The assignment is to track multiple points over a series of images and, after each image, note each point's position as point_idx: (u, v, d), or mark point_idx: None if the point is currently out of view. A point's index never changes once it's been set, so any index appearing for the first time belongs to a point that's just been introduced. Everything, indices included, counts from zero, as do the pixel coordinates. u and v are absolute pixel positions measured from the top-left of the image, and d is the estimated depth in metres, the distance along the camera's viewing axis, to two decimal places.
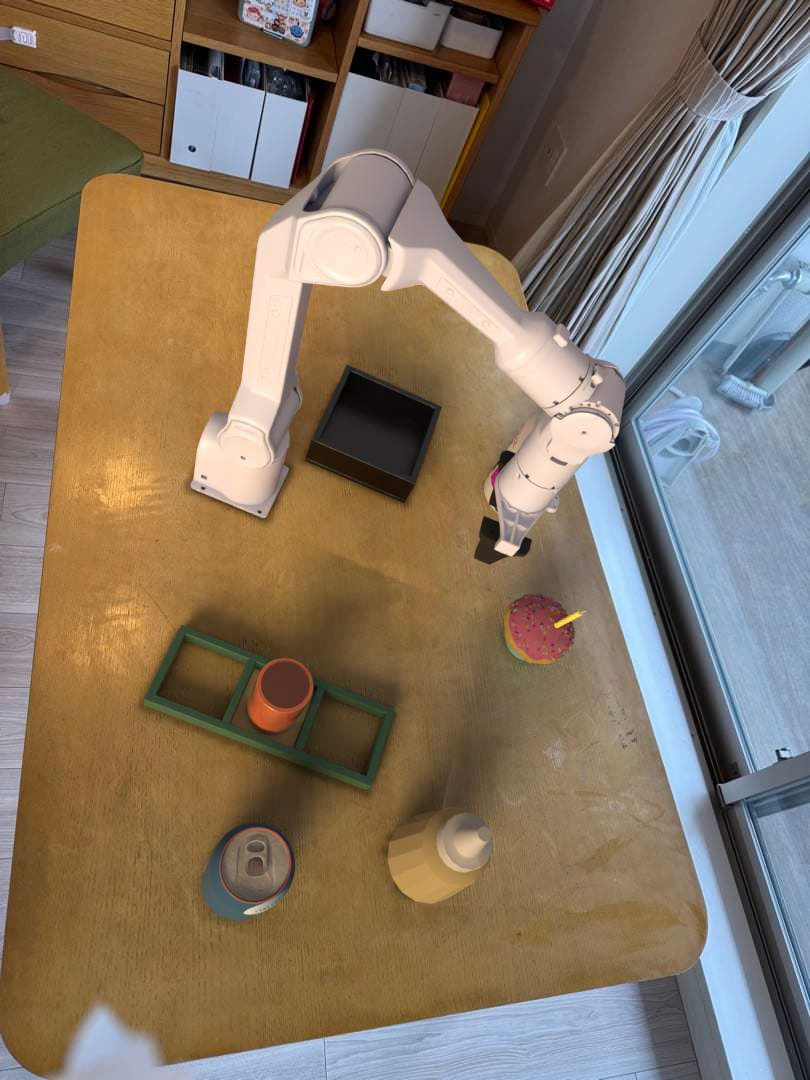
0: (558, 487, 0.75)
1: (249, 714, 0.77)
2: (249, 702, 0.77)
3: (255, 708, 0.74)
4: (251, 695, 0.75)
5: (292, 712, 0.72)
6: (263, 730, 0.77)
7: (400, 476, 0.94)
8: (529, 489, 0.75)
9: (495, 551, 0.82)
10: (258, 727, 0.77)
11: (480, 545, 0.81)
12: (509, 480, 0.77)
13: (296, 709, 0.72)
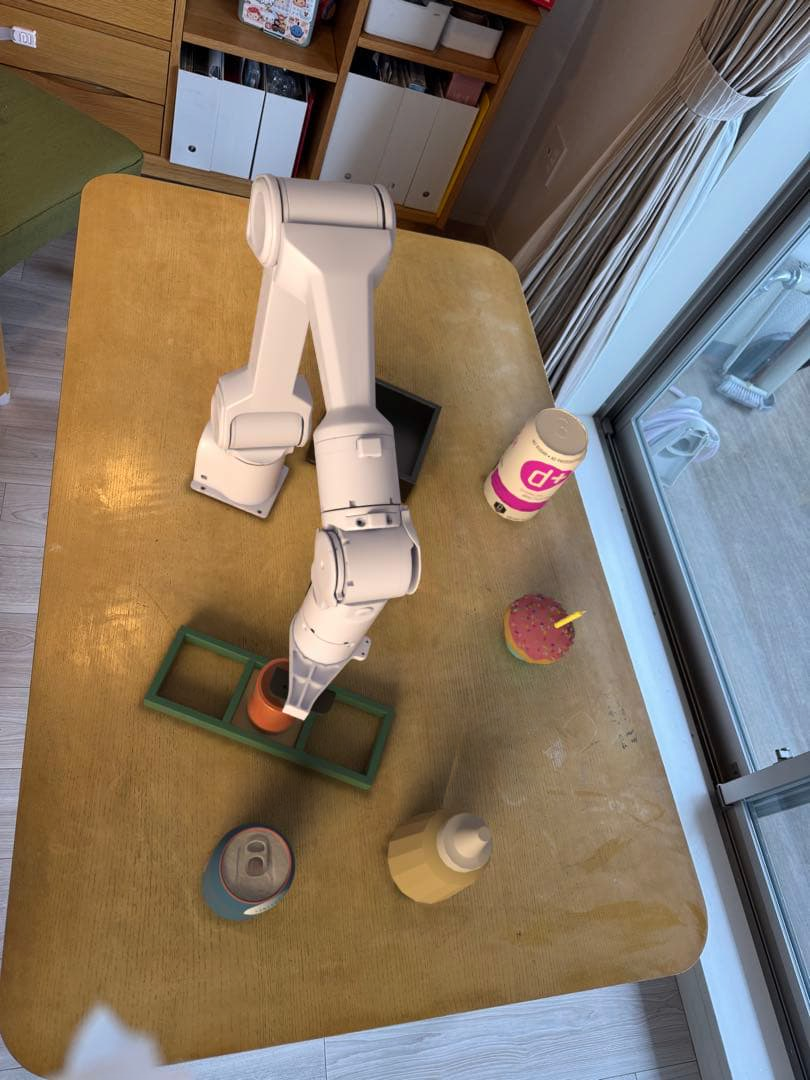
0: (352, 641, 0.61)
1: (249, 714, 0.77)
2: (249, 702, 0.77)
3: (255, 708, 0.74)
4: (251, 695, 0.75)
5: None
6: (263, 730, 0.77)
7: (400, 476, 0.94)
8: (318, 643, 0.62)
9: None
10: (258, 727, 0.77)
11: None
12: (298, 629, 0.63)
13: None
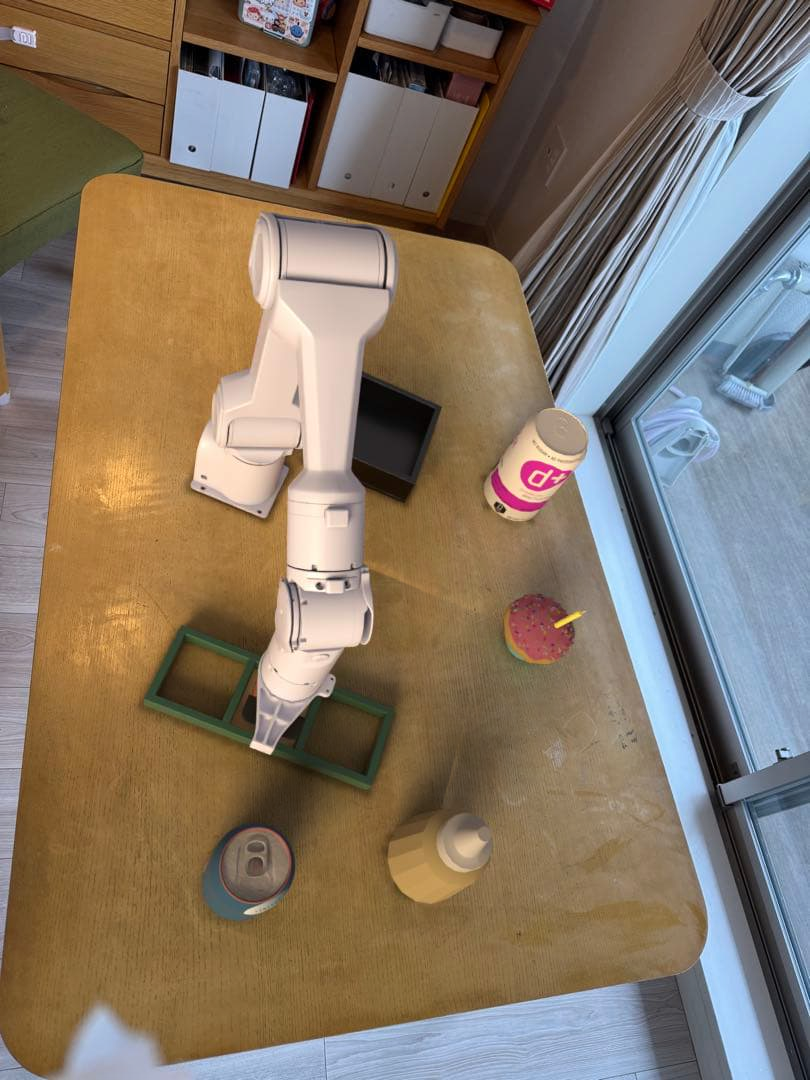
0: (315, 682, 0.65)
1: None
2: None
3: None
4: None
5: None
6: None
7: (400, 476, 0.94)
8: (283, 683, 0.65)
9: None
10: None
11: None
12: (265, 668, 0.67)
13: None
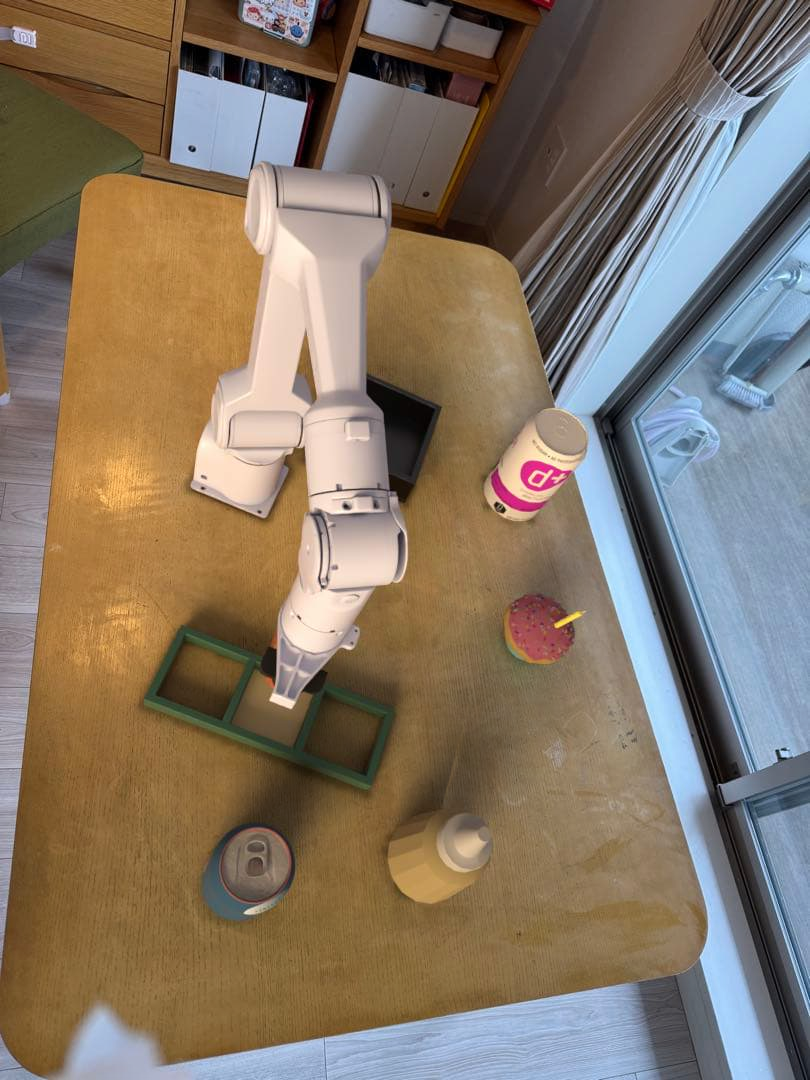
0: (340, 630, 0.60)
1: None
2: None
3: None
4: None
5: None
6: None
7: (400, 476, 0.94)
8: (305, 631, 0.61)
9: None
10: None
11: None
12: (286, 616, 0.62)
13: None
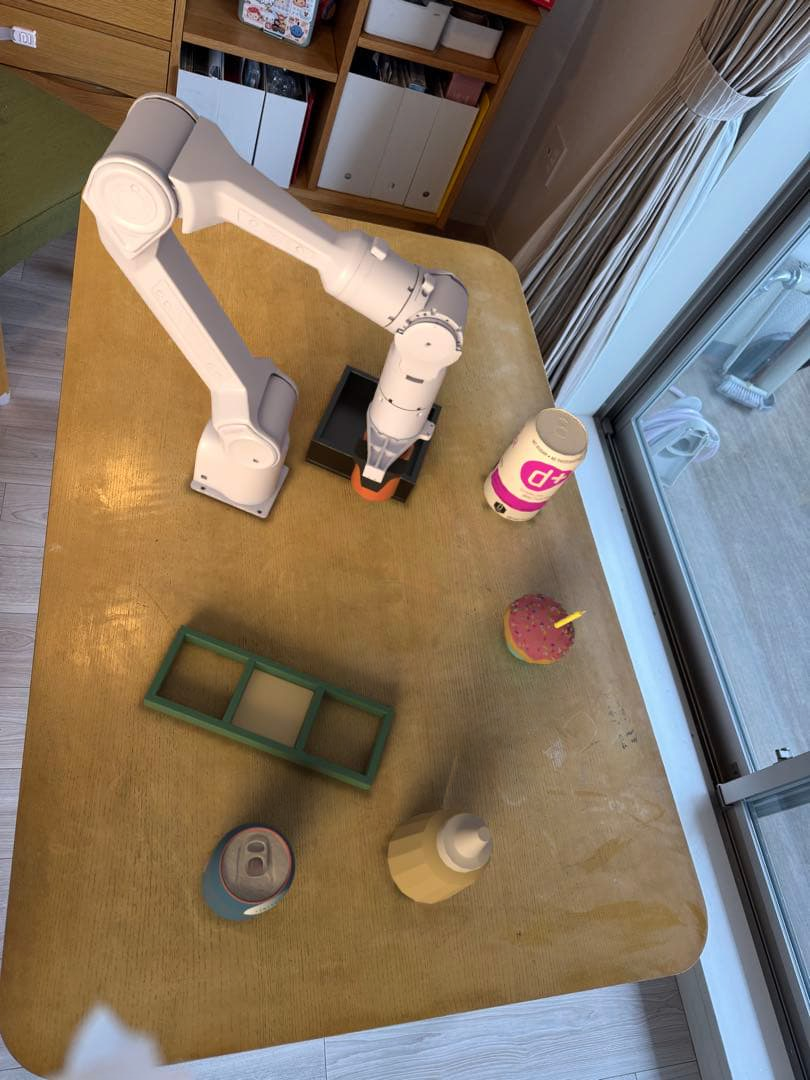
0: (420, 409, 0.74)
1: (355, 480, 0.86)
2: (355, 467, 0.86)
3: None
4: None
5: None
6: (368, 493, 0.86)
7: None
8: (392, 412, 0.74)
9: None
10: (363, 491, 0.86)
11: (360, 469, 0.81)
12: (375, 405, 0.76)
13: None
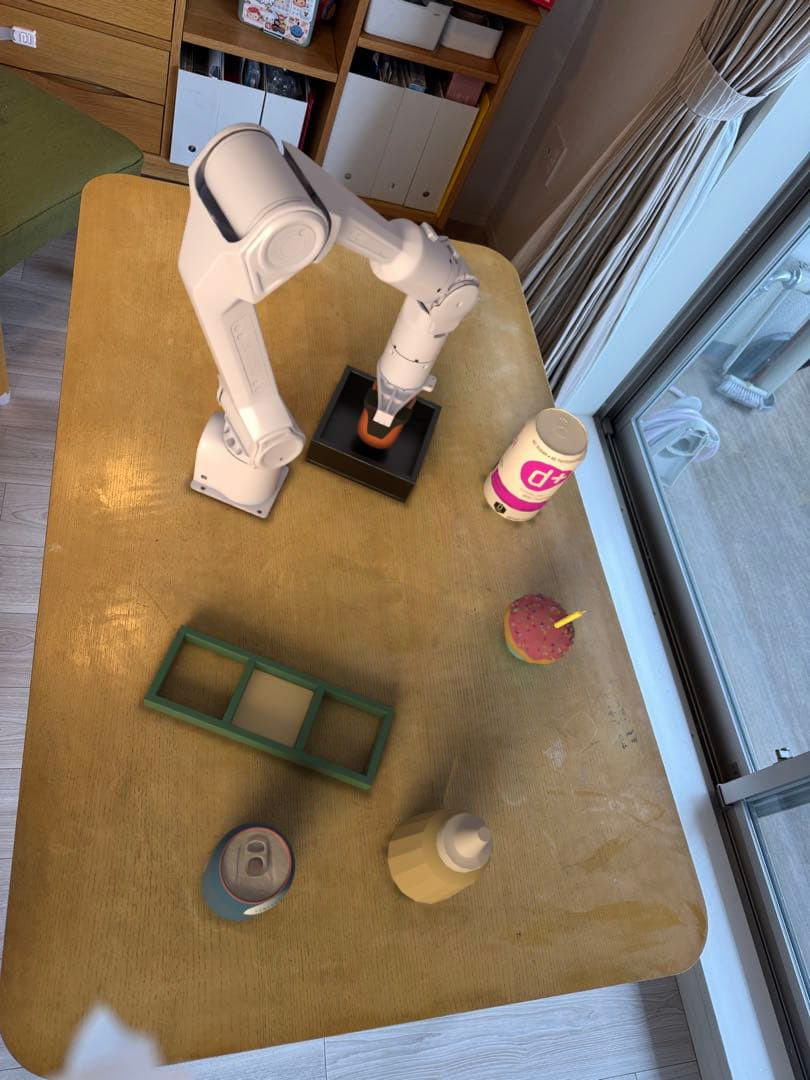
0: (427, 361, 0.84)
1: (361, 428, 0.96)
2: (362, 416, 0.96)
3: None
4: None
5: None
6: (373, 440, 0.96)
7: (400, 476, 0.94)
8: (401, 363, 0.84)
9: None
10: (368, 439, 0.96)
11: (368, 417, 0.91)
12: (385, 358, 0.86)
13: None
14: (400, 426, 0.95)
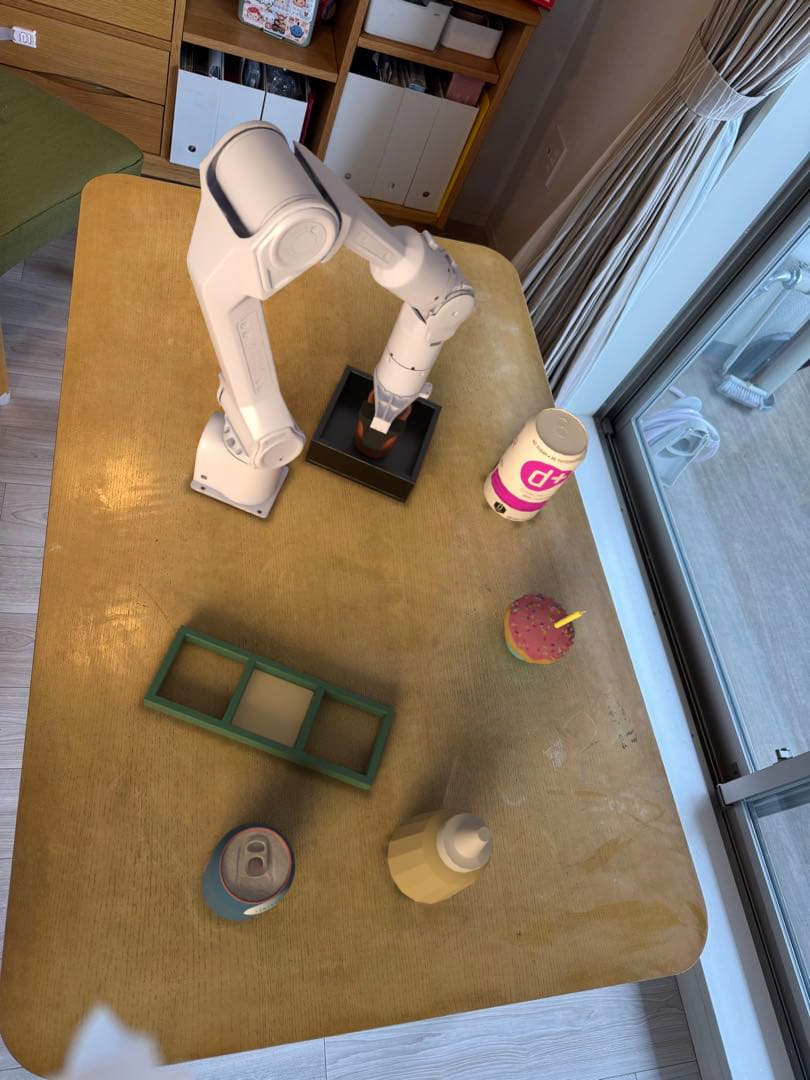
0: (423, 369, 0.85)
1: (357, 438, 0.98)
2: (358, 426, 0.97)
3: None
4: None
5: None
6: (369, 450, 0.98)
7: (400, 476, 0.94)
8: (398, 371, 0.85)
9: (378, 435, 0.93)
10: (364, 448, 0.98)
11: (363, 429, 0.91)
12: (382, 365, 0.87)
13: None
14: None
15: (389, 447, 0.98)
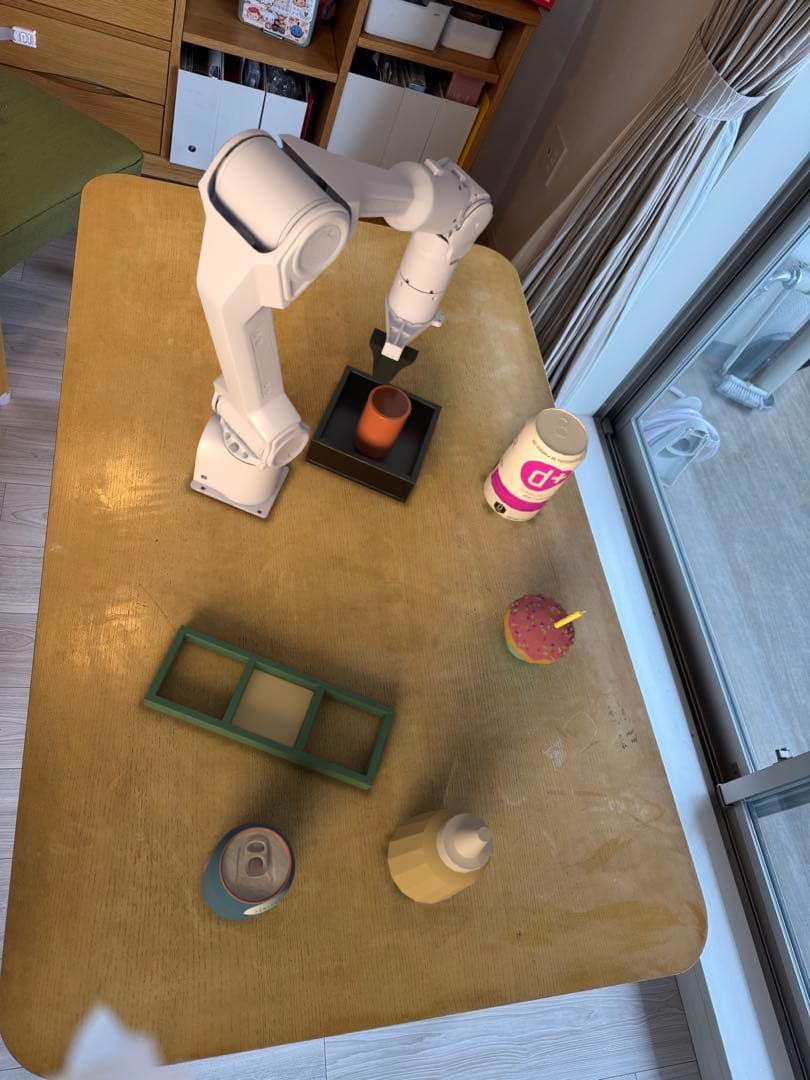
0: (436, 292, 0.82)
1: (357, 438, 0.98)
2: (358, 426, 0.97)
3: (365, 425, 0.95)
4: (361, 418, 0.96)
5: (396, 421, 0.93)
6: (369, 450, 0.98)
7: (400, 476, 0.94)
8: (410, 295, 0.83)
9: (389, 367, 0.90)
10: (364, 448, 0.98)
11: (374, 359, 0.89)
12: (394, 290, 0.84)
13: (399, 419, 0.93)
14: (395, 436, 0.96)
15: (389, 447, 0.98)
